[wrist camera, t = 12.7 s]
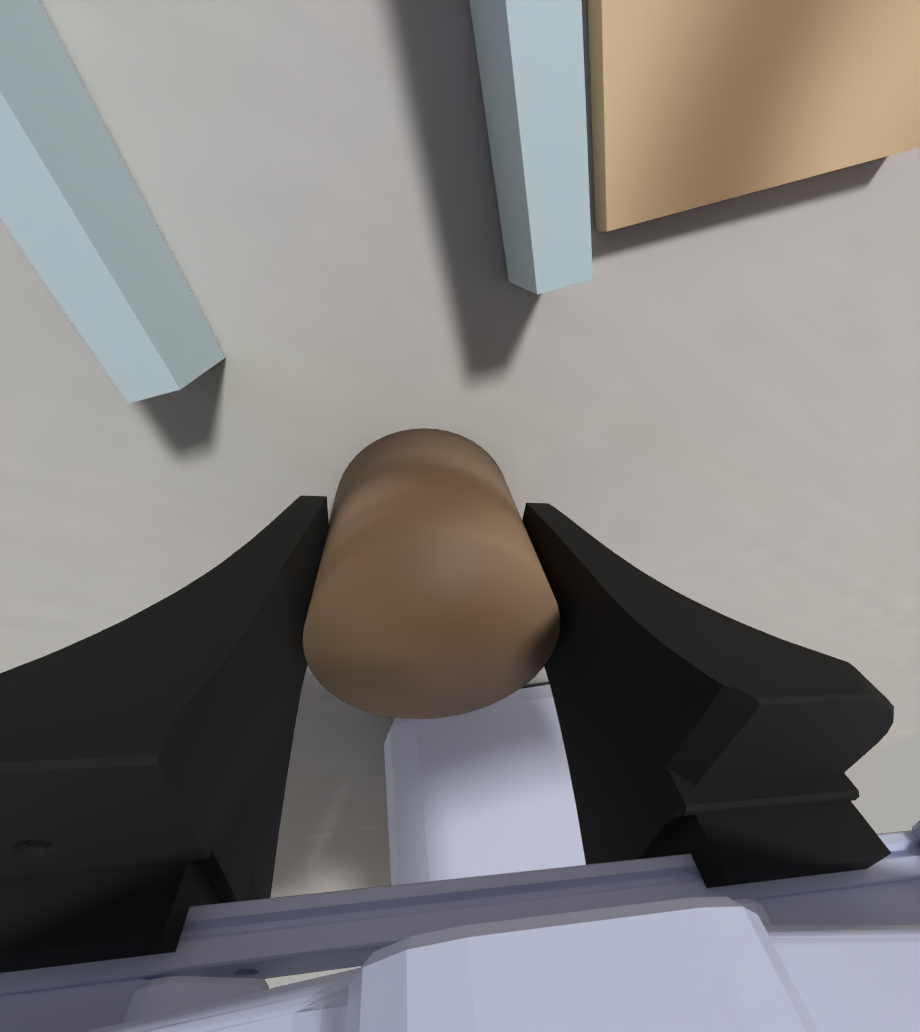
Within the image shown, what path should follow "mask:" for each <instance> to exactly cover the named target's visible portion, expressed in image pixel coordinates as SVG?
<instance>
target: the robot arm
mask: <svg viewBox="0 0 920 1032" xmlns="http://www.w3.org/2000/svg"><path fill="white" fill-rule="evenodd" d="M522 522H523V524H524V526H525V529H526V531H527V533H528V536H529V538H530V540H531V543H532V545H533V548H534V550H535V552H536V555H537V557H538V559H539V562H540V564H541V566H542V569H543V571H544V574H545V576H546V578H547V581H548V583H549V585H550V588H551V590H552V592H553V595H554V597H555V600H556V602H557V604H558V609H559V613H560V631H559V637H558V640H557V643H556V646H555V649H554V651H553V653H552V655H551V656H550V658H549V660H548V661H547V663H546V664H545V665H544V667H545V670H546V673H547V677H548V680H549V683H550V687H551V691H552V695H553V699H554V704H555V708H556V712H557V716H558V720H559V725H560V729H561V734H562V739H563V743H564V748H565V752H566V757H567V762H568V767H569V772H570V777H571V782H572V788H573V793H574V798H575V803H576V809H577V815H578V821H579V827H580V832H581V838H582V844H583V850H584V856H585V863H586V865H580V866H570V867H561V868H551V869H542V870H532V871H523V872H513V873H504V874H494V875H485V876H476V877H466V878H457V879H447V880H438V881H428V882H419V883H409V884H400V885H390V886H381V887H372V888H362V889H353V890H343V891H334V892H324V893H315V894H305V895H296V896H286V897H277V898H270V896H271V888H272V880H273V872H274V865H275V857H276V850H277V842H278V834H279V827H280V820H281V813H282V806H283V800H284V793H285V786H286V779H287V772H288V766H289V760H290V753H291V747H292V741H293V734H294V728H295V722H296V717H297V711H298V705H299V699H300V693H301V689H302V684H303V680H304V676H305V672H306V668H307V665H308V663H307V660H306V657H305V655H304V649H303V630H304V625H305V621H306V617H307V613H308V609H309V605H310V601H311V597H312V593H313V589H314V584H315V580H316V576H317V572H318V568H319V564H320V560H321V556H322V552H323V548H324V543H325V539H326V535H327V531H328V527H329V523H328V509H327V497H326V496H300V497H299V498H298V499H297V500H295V501H294V502H293V503H292V504H291V505H290V506H289V507H288V508H286V509H285V510H284V511H283V512H282V513H281V514H280V515H279V516H278V517H277V518H276V519H274V520H273V521H272V522H271V523H270V524H269V525H268V526H267V527H265V528H264V529H263V530H262V531H261V532H260V533H259V534H257V535H256V536H255V537H254V538H253V539H252V540H250V541H249V542H248V543H247V544H245V545H244V546H243V547H241V548H240V549H239V550H238V551H236V552H235V553H234V554H232V555H231V556H230V557H229V558H227V559H226V560H225V561H223V562H222V563H221V564H219V565H218V566H216V567H215V568H213V569H212V570H210V571H209V572H207V573H206V574H205V575H203V576H201V577H200V578H198V579H197V580H195V581H193V582H192V583H190V584H189V585H187V586H186V587H184V588H182V589H181V590H179V591H177V592H176V593H174V594H172V595H170V596H168V597H167V598H165V599H163V600H161V601H159V602H157V603H155V604H154V605H152V606H150V607H148V608H146V609H144V610H143V611H141V612H139V613H137V614H135V615H133V616H132V617H130V618H128V619H126V620H124V621H122V622H120V623H118V624H115V625H113V626H111V627H109V628H107V629H105V630H103V631H101V632H99V633H97V634H94V635H92V636H90V637H88V638H85V639H83V640H81V641H79V642H76V643H74V644H72V645H70V646H68V647H65V648H63V649H61V650H58V651H56V652H53V653H51V654H49V655H46V656H44V657H41V658H39V659H36V660H34V661H31V662H29V663H26V664H23V665H21V666H18V667H16V668H13V669H11V670H8V671H6V672H3V673H0V1032H920V821H919V822H918V823H917V824H915V825H914V826H913V827H912V830H911V831H901V832H893V833H882V834H876V833H875V832H874V830H873V829H872V828H871V827H870V825H869V824H868V823H867V821H866V820H865V819H864V817H863V816H862V815H861V814H860V812H859V811H858V810H857V809H856V807H855V806H854V805H853V804H852V802H851V800H856V799H857V798H858V797H859V791H858V789H857V788H856V787H855V786H854V785H853V783H852V782H851V781H850V780H849V778H848V777H847V776H846V775H845V774H844V772H845V771H846V770H847V769H849V768H850V767H851V766H852V765H853V764H854V763H855V762H857V761H858V760H859V759H860V758H861V757H862V756H863V755H865V754H866V753H867V752H868V751H869V750H870V749H871V748H873V747H874V746H875V745H876V744H877V743H878V742H879V741H880V740H881V739H882V738H883V737H884V736H885V735H886V734H887V732H888V731H889V729H890V727H891V725H892V723H893V717H894V707H893V705H892V704H891V703H890V702H889V700H888V699H887V698H886V697H885V696H884V695H883V694H882V693H881V692H880V691H879V690H878V689H876V688H875V687H874V686H873V685H872V684H871V683H870V682H869V681H868V680H867V679H866V678H865V677H864V676H863V675H862V674H861V673H860V672H859V671H858V670H857V669H856V668H855V667H854V666H852V665H851V664H850V663H848V662H846V661H843V660H840V659H837V658H834V657H831V656H828V655H825V654H822V653H820V652H817V651H814V650H811V649H808V648H805V647H802V646H799V645H796V644H793V643H791V642H788V641H785V640H782V639H780V638H777V637H774V636H772V635H769V634H767V633H765V632H762V631H760V630H757V629H755V628H752V627H750V626H747V625H745V624H742V623H740V622H738V621H736V620H733V619H731V618H729V617H727V616H724V615H722V614H720V613H718V612H716V611H714V610H712V609H710V608H708V607H706V606H703V605H701V604H699V603H697V602H695V601H693V600H691V599H689V598H687V597H685V596H684V595H682V594H680V593H678V592H676V591H674V590H673V589H671V588H669V587H667V586H666V585H664V584H662V583H660V582H659V581H657V580H655V579H653V578H652V577H650V576H648V575H647V574H645V573H644V572H642V571H640V570H639V569H637V568H636V567H634V566H633V565H631V564H630V563H628V562H627V561H626V560H624V559H623V558H621V557H620V556H618V555H617V554H615V553H614V552H613V551H611V550H610V549H608V548H607V547H606V546H604V545H603V544H602V543H600V542H599V541H598V540H596V539H595V538H594V537H592V536H591V535H590V534H588V533H587V532H586V531H585V530H583V529H582V528H581V527H579V526H578V525H577V524H576V523H574V522H573V521H572V520H570V519H569V518H568V517H567V516H565V515H564V514H563V513H561V512H560V511H559V510H557V509H556V508H554V507H553V506H551V505H550V504H546V503H526V506H525V511H524V515H523V520H522ZM357 966H361V968H357V969H353V970H349V971H344V972H340V973H336V974H331V975H327V976H323V977H318V978H314V979H310V980H305V981H301V982H297V983H292V984H288V985H284V986H280V987H275V988H271V989H269V986H268V985H267V983H266V981H265V980H264V979H267V978H274V977H281V976H289V975H296V974H304V973H312V972H319V971H327V970H334V969H342V968H349V967H357Z"/></svg>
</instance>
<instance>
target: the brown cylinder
mask: <svg viewBox="0 0 920 1032" xmlns="http://www.w3.org/2000/svg"><path fill="white" fill-rule="evenodd" d="M559 631H560V613H559V609H558V604H557V602H556V600H555V597H554V595H553V592H552V590H551V588H550V585H549V583H548V581H547V578H546V576H545V574H544V571H543V569H542V566H541V564H540V562H539V559H538V557H537V555H536V552H535V550H534V548H533V545H532V543H531V540H530V538H529V536H528V533H527V531H526V529H525V526H524V524H523V522H522V519H521V517H520V514H519V512H518V510H517V507H516V505H515V503H514V500H513V498H512V496H511V493H510V491H509V488H508V486H507V484H506V481H505V479H504V477H503V474H502V472H501V470H500V468H499V467H498V465H497V464H496V462H495V461H494V460H493V458H492V457H491V456H490V455H489V454H488V453H487V452H486V451H485V450H484V449H483V448H481V447H480V446H479V445H477V444H476V443H474V442H473V441H471V440H469V439H467V438H465V437H463V436H461V435H458V434H455V433H452V432H449V431H443V430H438V429H425V428H423V429H410V430H405V431H400V432H396V433H393V434H390V435H387V436H385V437H383V438H381V439H379V440H377V441H375V442H373V443H372V444H370V445H369V446H367V447H366V448H365V449H363V450H362V451H361V452H360V453H359V454H358V455H357V456H356V457H355V458H354V459H353V460H352V461H351V463H350V464H349V465H348V467H347V469H346V470H345V472H344V474H343V476H342V478H341V480H340V483H339V487H338V490H337V494H336V498H335V502H334V507H333V511H332V515H331V519H330V523H329V527H328V531H327V535H326V539H325V543H324V548H323V552H322V556H321V560H320V564H319V568H318V572H317V576H316V580H315V584H314V589H313V593H312V597H311V601H310V605H309V609H308V613H307V617H306V621H305V625H304V630H303V649H304V655H305V657H306V660H307V663H308V666H309V667H310V669H311V671H312V673H313V675H314V676H315V677H316V678H317V680H318V681H319V682H320V683H321V684H322V685H323V686H324V687H325V688H326V689H327V690H328V691H329V692H330V693H332V694H333V695H335V696H336V697H338V698H339V699H341V700H342V701H344V702H346V703H348V704H350V705H352V706H354V707H357V708H359V709H362V710H364V711H367V712H371V713H374V714H378V715H383V716H388V717H394V718H403V719H435V718H444V717H451V716H456V715H461V714H465V713H468V712H472V711H476V710H479V709H481V708H484V707H487V706H489V705H492V704H494V703H496V702H498V701H500V700H502V699H504V698H506V697H508V696H509V695H511V694H513V693H515V692H516V691H517V690H519V689H520V688H522V687H523V686H524V685H526V684H527V683H528V682H529V681H530V680H531V679H533V678H534V677H535V676H536V675H537V674H538V672H539V671H540V670H541V669H542V668H543V667H544V665H545V664H546V663H547V661H548V660H549V658H550V656H551V655H552V653H553V651H554V649H555V646H556V643H557V640H558V637H559Z"/></svg>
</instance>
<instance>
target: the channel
mask: <svg viewBox="0 0 920 1032" xmlns="http://www.w3.org/2000/svg"><path fill="white" fill-rule="evenodd" d="M469 2H470V9H471V16H472V23H473V30H474V37H475V44H476V52H477V59H478V66H479V73H480V80H481V87H482V94H483V102H484V109H485V116H486V123H487V130H488V137H489V145H490V152H491V159H492V166H493V173H494V180H495V187H496V195H497V202H498V209H499V216H500V223H501V230H502V237H503V245H504V252H505V259H506V266H507V273H508V280H509V282H510V283H513V284H515V285H517V286H519V287H521V288H524V289H526V290H528V291H530V292H533V293H535V294H537V295H538V294H542V293H545V292H549V291H553V290H557V289H560V288H564V287H568V286H572V285H575V284H579V283H583V282H587V281H590V280H593V272H592V247H591V223H590V198H589V173H588V148H587V124H586V99H585V74H584V50H583V25H582V0H469ZM0 219H1V220H2V222H3V223H4V225H5V226H6V227H7V229H8V230H9V232H10V233H11V235H12V236H13V238H14V239H15V240H16V242H17V243H18V245H19V246H20V248H21V249H22V251H23V252H24V254H25V255H26V256H27V258H28V259H29V261H30V262H31V264H32V265H33V267H34V268H35V270H36V271H37V272H38V274H39V275H40V277H41V278H42V280H43V281H44V283H45V284H46V286H47V287H48V288H49V290H50V291H51V293H52V294H53V296H54V297H55V299H56V300H57V302H58V303H59V304H60V306H61V307H62V309H63V310H64V312H65V313H66V315H67V316H68V317H69V319H70V320H71V322H72V323H73V325H74V326H75V328H76V329H77V331H78V332H79V333H80V335H81V336H82V338H83V339H84V341H85V342H86V344H87V345H88V347H89V348H90V349H91V351H92V352H93V354H94V355H95V357H96V358H97V360H98V361H99V363H100V364H101V365H102V367H103V368H104V370H105V371H106V373H107V374H108V376H109V377H110V379H111V380H112V381H113V383H114V384H115V386H116V387H117V389H118V390H119V392H120V393H121V394H122V396H123V397H124V399H125V400H126V402H127V403H132V402H136V401H140V400H143V399H147V398H151V397H155V396H158V395H162V394H166V393H170V392H173V391H177V390H181V389H182V388H183V387H185V386H186V385H188V384H189V383H190V382H192V381H193V380H195V379H196V378H197V377H199V376H200V375H202V374H203V373H204V372H206V371H207V370H209V369H210V368H211V367H213V366H214V365H216V364H217V363H218V362H220V361H221V360H223V359H224V358H225V356H224V354H223V352H222V350H221V348H220V346H219V344H218V342H217V340H216V338H215V336H214V334H213V333H212V331H211V329H210V327H209V325H208V323H207V321H206V319H205V317H204V315H203V313H202V311H201V310H200V308H199V306H198V304H197V302H196V300H195V298H194V296H193V294H192V292H191V290H190V288H189V286H188V285H187V283H186V281H185V279H184V277H183V275H182V273H181V271H180V269H179V267H178V265H177V263H176V261H175V260H174V258H173V256H172V254H171V252H170V250H169V248H168V246H167V244H166V242H165V240H164V238H163V237H162V235H161V233H160V231H159V229H158V227H157V225H156V223H155V221H154V219H153V217H152V215H151V213H150V212H149V210H148V208H147V206H146V204H145V202H144V200H143V198H142V196H141V194H140V192H139V190H138V188H137V187H136V185H135V183H134V181H133V179H132V177H131V175H130V173H129V171H128V169H127V167H126V165H125V164H124V162H123V160H122V158H121V156H120V154H119V152H118V150H117V148H116V146H115V144H114V142H113V140H112V139H111V137H110V135H109V133H108V131H107V129H106V127H105V125H104V123H103V121H102V119H101V117H100V115H99V114H98V112H97V110H96V108H95V106H94V104H93V102H92V100H91V98H90V96H89V94H88V92H87V91H86V89H85V87H84V85H83V83H82V81H81V79H80V77H79V75H78V73H77V71H76V69H75V67H74V66H73V64H72V62H71V60H70V58H69V56H68V54H67V52H66V50H65V48H64V46H63V44H62V42H61V41H60V39H59V37H58V35H57V33H56V31H55V29H54V27H53V25H52V23H51V21H50V19H49V18H48V16H47V14H46V12H45V10H44V8H43V6H42V4H41V2H40V0H0Z"/></svg>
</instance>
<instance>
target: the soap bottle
mask: <svg viewBox="0 0 920 1032" xmlns="http://www.w3.org/2000/svg"><path fill="white" fill-rule="evenodd" d="M384 755H385V774H386V794H387V813H388V832H389V851H390V871H391V885H400V884H409V883H419V882H428V881H438V880H447V879H457V878H466V877H476V876H485V875H494V874H504V873H513V872H523V871H532V870H542V869H551V868H561V867H570V866H580V865H586V863H585V856H584V850H583V844H582V838H581V832H580V827H579V821H578V815H577V809H576V803H575V798H574V793H573V788H572V782H571V777H570V772H569V767H568V762H567V757H566V752H565V748H564V743H563V739H562V734H561V729H560V725H559V720H558V716H557V712H556V708H555V704H554V699H553V695H552V691H551V687H550V684H549V685H543V686H536V687H529V688H523V689H519V690H517V691H516V692H515V693H513V694H511V695H509V696H508V697H506V698H504V699H502V700H500V701H498V702H496V703H494V704H492V705H489V706H487V707H484V708H481V709H479V710H476V711H472V712H468V713H465V714H461V715H456V716H451V717H444V718H435V719H403V718H394V720H393V723H392V725H391V728H390V730H389V733H388V735H387V738H386V740H385V743H384Z"/></svg>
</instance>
